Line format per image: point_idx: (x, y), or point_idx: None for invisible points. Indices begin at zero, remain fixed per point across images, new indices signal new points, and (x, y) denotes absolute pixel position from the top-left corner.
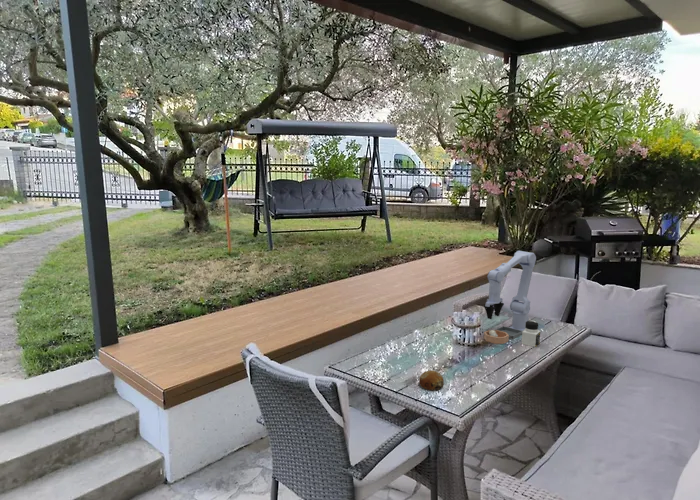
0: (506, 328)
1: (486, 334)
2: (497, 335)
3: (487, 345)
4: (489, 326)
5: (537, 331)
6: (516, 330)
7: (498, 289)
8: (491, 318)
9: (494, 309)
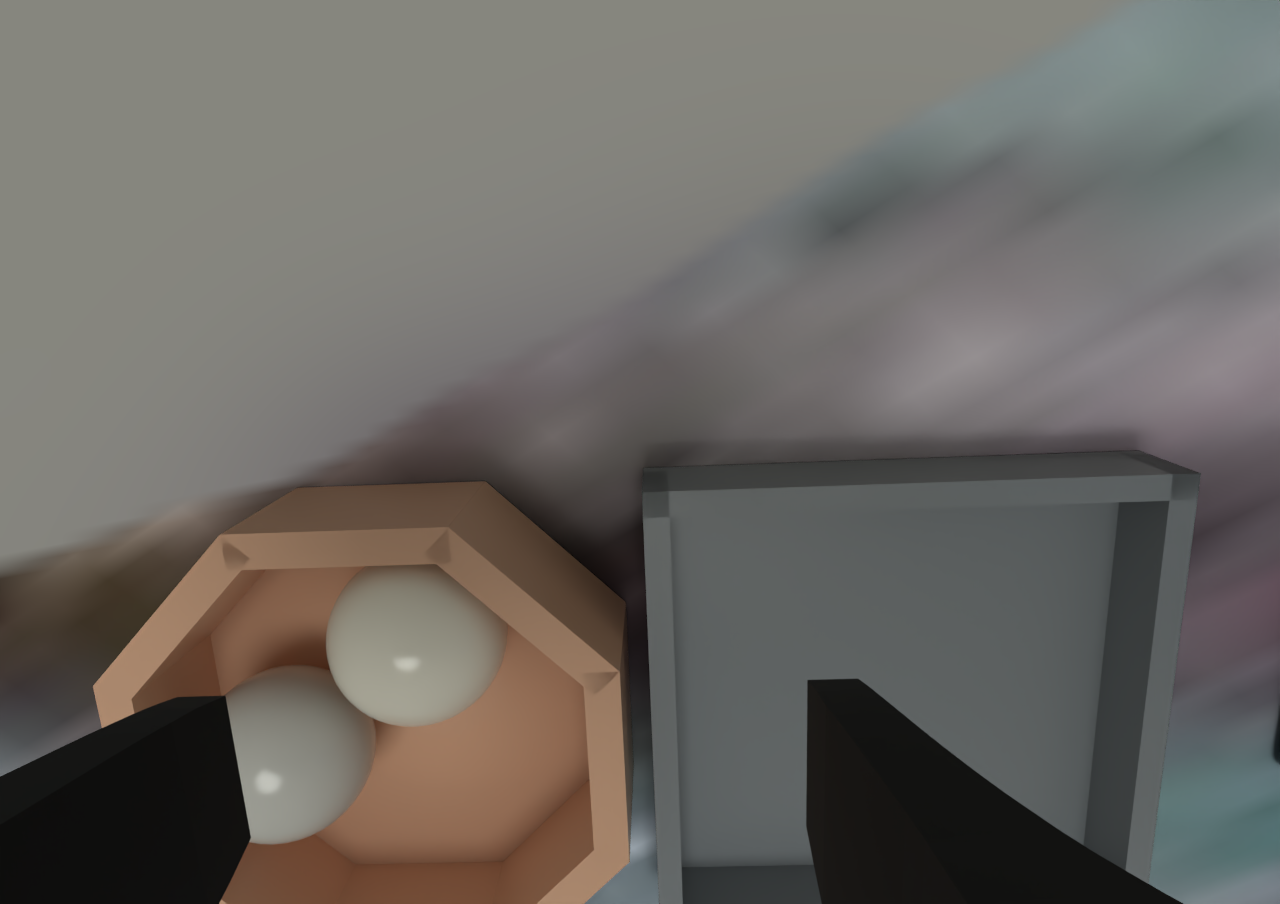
0: (1138, 562)
1: (131, 662)
2: (299, 839)
3: (61, 726)
4: (1157, 94)
5: None
6: (1122, 789)
7: None
8: (209, 866)
9: (915, 829)
